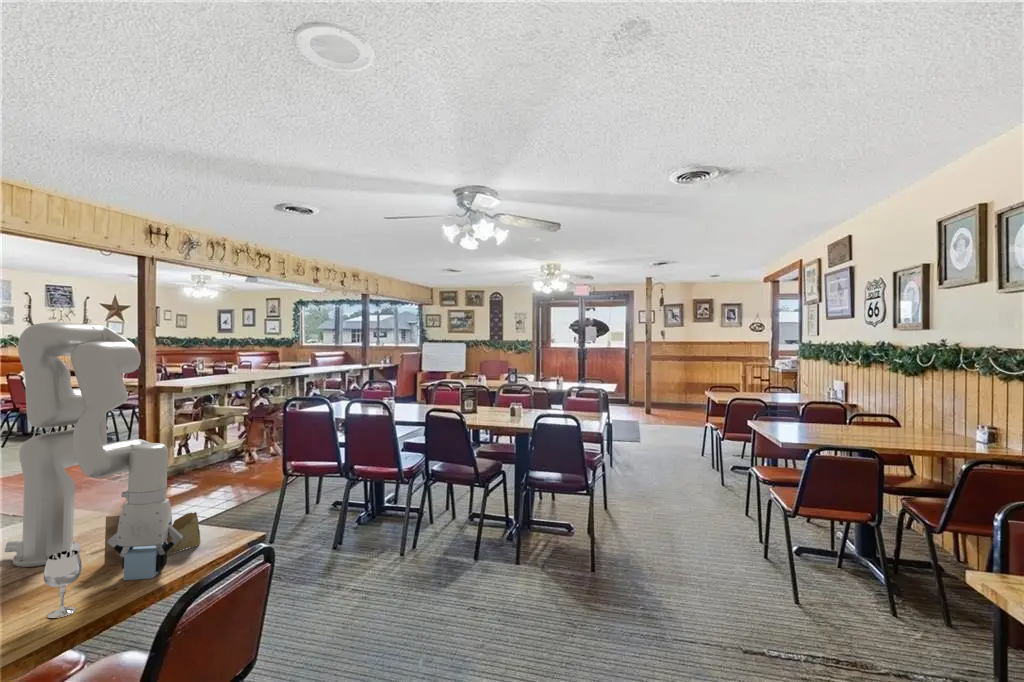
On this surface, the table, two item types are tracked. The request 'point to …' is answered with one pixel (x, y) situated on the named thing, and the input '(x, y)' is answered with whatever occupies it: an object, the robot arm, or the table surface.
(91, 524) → the table surface
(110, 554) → the tower base
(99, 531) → the table surface
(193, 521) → the rock
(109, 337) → the robot arm
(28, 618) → the table surface
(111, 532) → the tower mid
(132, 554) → the blue block
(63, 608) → the wineglass
